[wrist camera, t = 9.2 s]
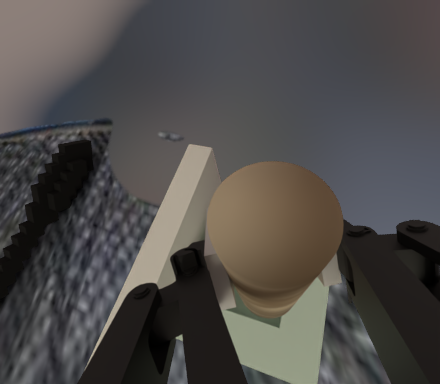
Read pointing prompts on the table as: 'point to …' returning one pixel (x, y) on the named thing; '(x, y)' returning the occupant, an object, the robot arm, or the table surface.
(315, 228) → the wooden cylinder peg
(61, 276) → the table surface
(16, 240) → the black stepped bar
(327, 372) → the table surface
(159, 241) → the backstop board
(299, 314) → the socket block
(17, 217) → the table surface
